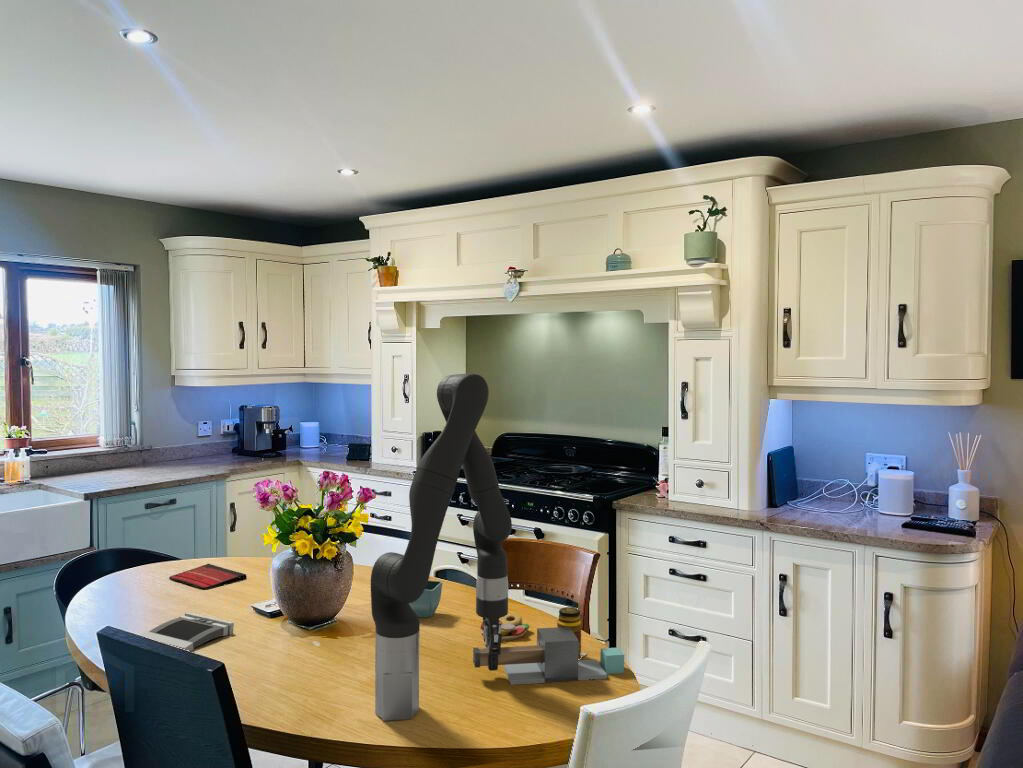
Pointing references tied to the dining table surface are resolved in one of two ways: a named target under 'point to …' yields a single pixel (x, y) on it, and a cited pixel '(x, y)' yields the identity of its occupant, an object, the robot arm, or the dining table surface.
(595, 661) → the base plate
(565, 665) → the bearing block
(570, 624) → the condiment
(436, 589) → the flower pot
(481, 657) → the shaft
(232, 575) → the binder
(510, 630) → the toy food set
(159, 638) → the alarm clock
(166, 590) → the dining table surface
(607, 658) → the block
